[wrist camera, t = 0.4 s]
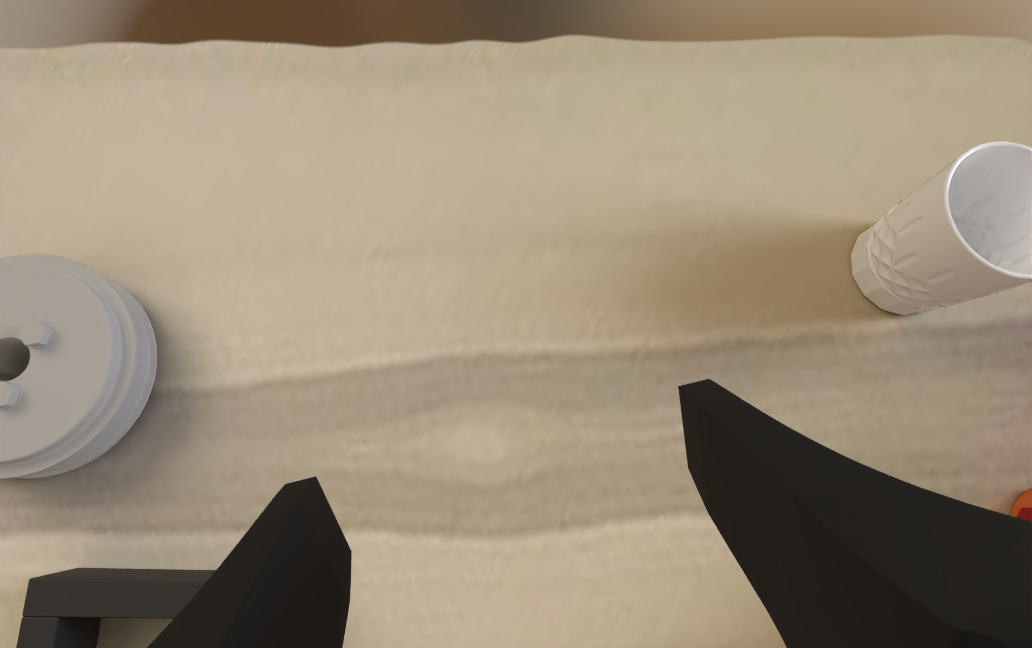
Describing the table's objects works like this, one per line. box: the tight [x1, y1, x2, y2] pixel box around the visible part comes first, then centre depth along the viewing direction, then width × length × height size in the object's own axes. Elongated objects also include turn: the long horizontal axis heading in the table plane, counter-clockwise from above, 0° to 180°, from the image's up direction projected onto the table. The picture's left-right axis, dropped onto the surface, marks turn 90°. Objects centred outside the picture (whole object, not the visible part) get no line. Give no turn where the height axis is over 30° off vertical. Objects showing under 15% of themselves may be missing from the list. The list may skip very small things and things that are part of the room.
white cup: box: [851, 142, 1032, 315], centre depth 39 cm, size 8×8×10 cm
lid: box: [0, 254, 157, 479], centre depth 36 cm, size 13×13×5 cm
